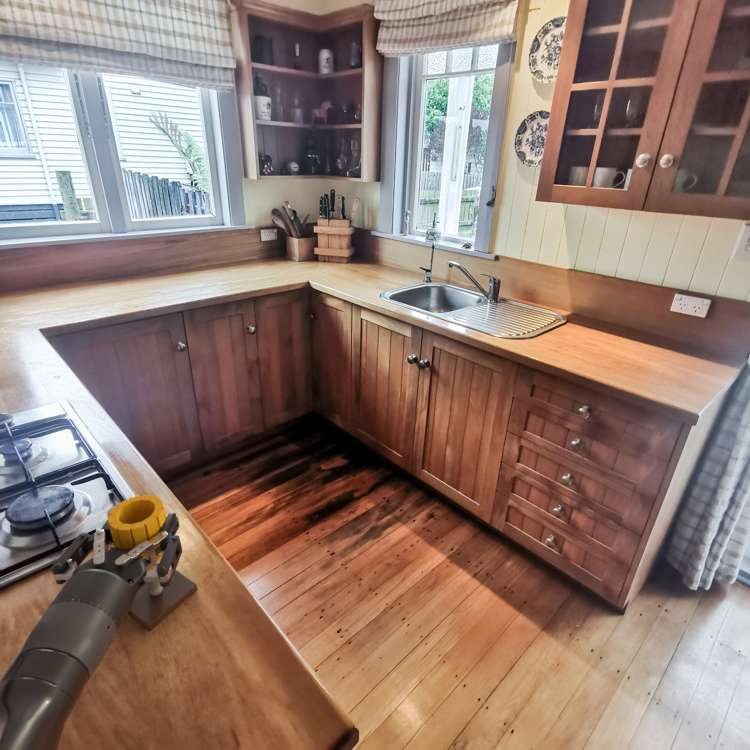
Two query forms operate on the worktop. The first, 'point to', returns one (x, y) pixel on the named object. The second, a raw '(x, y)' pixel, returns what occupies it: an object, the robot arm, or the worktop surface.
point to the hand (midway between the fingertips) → (147, 516)
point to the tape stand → (160, 600)
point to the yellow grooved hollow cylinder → (136, 521)
